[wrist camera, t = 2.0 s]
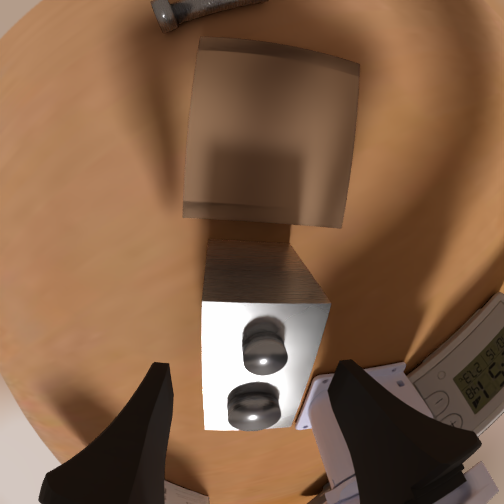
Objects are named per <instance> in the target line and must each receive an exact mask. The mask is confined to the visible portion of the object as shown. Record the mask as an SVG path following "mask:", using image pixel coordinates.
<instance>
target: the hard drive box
mask: <svg viewBox="0 0 504 504" xmlns="http://www.w3.org/2000/svg"><path fill="white" fill-rule="evenodd" d="M164 496H165V504H210V503H209V497H208V496H205V495H202V494H199V493H197V492H194V491H190V490H188V489H185V488H182V487H180V486H177V485H175V484H172V483H170V482H168V481H166V480H164Z"/></svg>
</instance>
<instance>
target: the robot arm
mask: <svg viewBox="0 0 504 504" xmlns="http://www.w3.org/2000/svg"><path fill="white" fill-rule="evenodd" d="M405 368H406V364H405V362H400V363H395V364H390V365H385V366H380V367H374V368H368V369H362V368H361V367H360V366H359V365H358V364H356V363H355V362H354V361H353V360H352V359H350V360H342V361H339V363H338V366H337V368H336V371H335V373H333V374H324V375H318V376H316V377H314V379H313V381H312V383H311V386H310V389H309V392H308V394H307V397H306V400H305V402H304V405H303V407H302V410H301V412H300V415H299V417H298V420H297V422H296V425H295V428H296V429H297V430H302V429H310V428H312V430H313V433H314V436H315V439H316V442H317V445H318V449H319V452H320V455H321V458H322V461H323V464H324V467H325V470H326V473H327V476H328V479H329V483H330V486H331V489H332V490H331V491H329V492H326V493H325V497H326V500H327V501H326V502H324V503H323V504H486V503H487V502H488V501H489V500H490V499H491V498H493V496H494V495H495V494H497V493H498V491H499V490H498V488H497V486H496V484H495V483H494V481H493V479H492V477H491V476H490V474H489V473H488V471H487V469H486V467H485V466H484V464H483V462H482V461H480V462H478V463H477V464H476V465H475V466H473V467H472V468H471V469H469V470H468V471H467V472H465V473H464V474H463V473H462V470H463V469H464V466H463V464H462V463H463V462H464V461H466V460H467V459H468V458H469V457H470V456H471V455H472V454H474V453H475V452H476V451H477V449H479V448H480V446H481V444H482V443H481V441H480V440H479V438H478V437H477V435H476V433H475V432H474V431H469V430H465V429H461V428H457V427H454V426H451V425H448V424H445V423H442V422H440V421H437V420H435V419H434V418H433V415H432V413H431V411H430V410H429V408H428V407H427V405H426V404H425V402H424V401H423V399H422V398H421V396H420V395H419V393H418V392H417V391H416V389H415V388H414V386H413V385H412V383H411V382H410V381H409V379H408V378H407V376H406V375H405V374H404V372H403V371H404V370H405ZM173 397H174V393H173V387H172V381H171V374H170V367H169V363H159V362H154V363H153V364H152V365H151V367H150V369H149V371H148V372H147V374H146V376H145V377H144V379H143V381H142V382H141V384H140V385H139V387H138V388H137V390H136V391H135V393H134V394H133V396H132V397H131V399H130V400H129V402H128V403H127V404H126V405H125V407H124V408H123V409H122V411H121V412H120V413H119V414H118V416H117V417H116V418H115V419H114V420H113V422H112V423H111V424H110V425H109V426H108V427H107V428H106V429H105V430H104V431H103V432H102V433H101V434H100V435H99V436H98V437H97V438H96V439H95V440H94V441H93V442H92V443H90V444H89V445H88V446H87V447H86V448H84V449H83V450H82V451H81V452H79V453H78V454H77V455H75V456H74V457H72V458H71V459H70V460H68V461H67V462H65V463H64V464H62V465H60V466H58V467H57V468H55V469H54V470H52V471H50V472H48V473H47V474H46V476H45V478H44V480H43V483H42V486H41V490H40V495H39V502H40V503H41V504H165V496H164V473H165V458H166V451H167V445H168V439H169V433H170V427H171V421H172V414H173Z"/></svg>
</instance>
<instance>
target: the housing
mask: <svg viewBox="0 0 504 504" xmlns="http://www.w3.org/2000/svg"><path fill="white" fill-rule="evenodd" d="M330 307H331V302H330V301H329V299H328V298H327V296H326V295H325V293H324V292H323V290H322V289H321V287H320V286H319V284H318V283H317V282H316V280H315V279H314V277H313V276H312V274H311V273H310V272H309V270H308V269H307V267H306V266H305V264H304V263H303V262H302V260H301V259H300V257H299V256H298V255H297V253H296V252H295V250H294V249H293V248H292V246H291V245H290V243H275V242H258V241H240V240H221V239H209V240H208V248H207V257H206V266H205V276H204V285H203V296H202V370H203V399H204V420H205V430H242V431H258V430H263V429H270V428H283V427H291V425H292V422H293V420H294V417H295V415H296V412H297V409H298V407H299V404H300V401H301V399H302V396H303V393H304V390H305V388H306V385H307V382H308V379H309V376H310V373H311V370H312V367H313V364H314V361H315V358H316V355H317V352H318V348H319V345H320V342H321V339H322V335H323V332H324V328H325V325H326V321H327V318H328V314H329V311H330Z"/></svg>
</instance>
